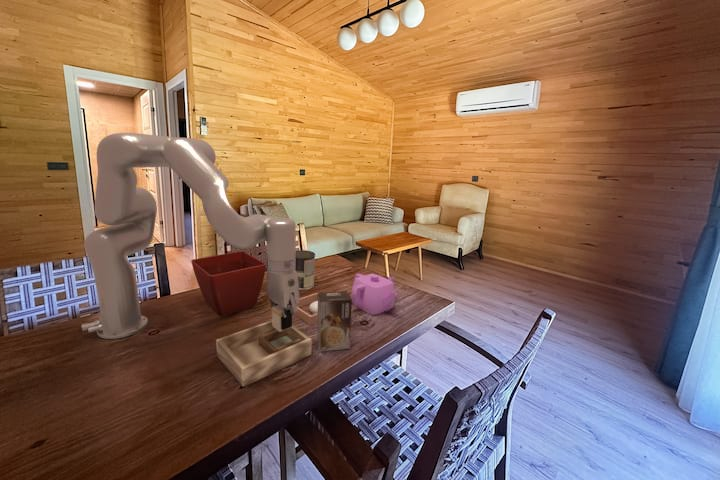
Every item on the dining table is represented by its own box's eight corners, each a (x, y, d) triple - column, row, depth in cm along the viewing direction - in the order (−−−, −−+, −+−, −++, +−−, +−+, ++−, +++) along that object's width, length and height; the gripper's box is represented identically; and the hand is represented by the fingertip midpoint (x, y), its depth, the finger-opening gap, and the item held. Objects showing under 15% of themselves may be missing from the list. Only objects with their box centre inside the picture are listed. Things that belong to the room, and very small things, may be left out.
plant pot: (193, 303, 116) (190, 259, 111) (244, 290, 129) (243, 250, 124) (213, 324, 103) (210, 276, 98) (267, 308, 115) (267, 264, 111)
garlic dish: (310, 325, 106) (310, 317, 105) (287, 309, 115) (287, 302, 114) (340, 313, 115) (341, 305, 114) (317, 299, 124) (318, 292, 124)
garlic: (325, 305, 121) (325, 296, 120) (334, 312, 116) (335, 303, 115) (306, 310, 116) (306, 300, 115) (315, 318, 111) (315, 308, 110)
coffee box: (345, 337, 100) (348, 290, 96) (350, 349, 94) (353, 299, 90) (316, 340, 98) (317, 292, 94) (319, 352, 92) (320, 301, 88)
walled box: (243, 387, 77) (242, 369, 76) (217, 355, 88) (216, 339, 86) (311, 354, 91) (311, 339, 89) (281, 331, 101) (281, 316, 100)
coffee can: (291, 290, 131) (291, 258, 127) (288, 281, 140) (289, 250, 136) (316, 289, 134) (317, 257, 130) (312, 279, 143) (313, 249, 140)
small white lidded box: (279, 332, 88) (279, 312, 87) (271, 326, 91) (271, 306, 89) (292, 327, 91) (292, 307, 89) (284, 321, 94) (284, 302, 92)
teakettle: (352, 294, 131) (353, 266, 128) (393, 297, 131) (396, 269, 128) (348, 314, 115) (350, 282, 112) (395, 318, 114) (399, 286, 111)
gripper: (311, 269, 83) (310, 332, 88) (277, 253, 94) (278, 309, 99) (286, 276, 78) (286, 342, 82) (253, 258, 89) (255, 317, 94)
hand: (282, 324), depth 91 cm, fingers closed on small white lidded box, 4 cm apart
